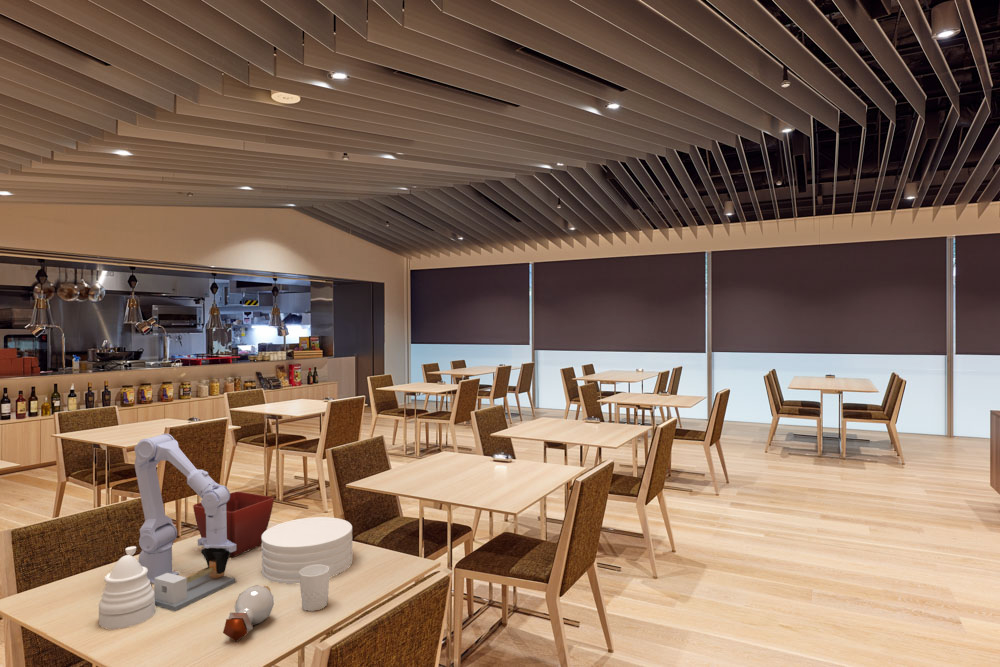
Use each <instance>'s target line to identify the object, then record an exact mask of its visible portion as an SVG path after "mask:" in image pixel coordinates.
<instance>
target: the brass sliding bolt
mask: <svg viewBox="0 0 1000 667" xmlns="http://www.w3.org/2000/svg"><path fill="white" fill-rule="evenodd" d="M225 572H226V571H225ZM225 572H223V573H220V574H218V572H217V564H216V560H215V559H213V560H210V561H209V567H208V566H206V567H205V568H202V569H201V570H198V571H195V572H193V573H191V574H189V575H186V576H185V577H186V578H187V583H188V582H191V581H193V580H195V579H197V578H200V577H202V576H204V575H206V574H209V577H210V578H214V579H217V578H220V577H222V576H226V574H225Z"/></svg>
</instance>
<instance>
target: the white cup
mask: <svg viewBox="0 0 1000 667" xmlns="http://www.w3.org/2000/svg"><path fill="white" fill-rule="evenodd" d="M329 584H330V578H329V567H328V566H326V565H311V566H307V567H305V568H303V569H301V570H300V584H299V588H300V598H301V607H302V609H303V611H306V610H308V611H307V612H315V611H314V610H318V611H320V610H319V609H321V610H323V609H324V607H325V606H326V607H327V605H328V604H329V602H328V601H329V586H330V585H329ZM326 607H325V608H326ZM322 608H323V609H322Z"/></svg>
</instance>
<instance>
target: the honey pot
mask: <svg viewBox="0 0 1000 667" xmlns="http://www.w3.org/2000/svg"><path fill="white" fill-rule="evenodd" d="M136 551H137V546H134V545H133V546H128V547H126V548H125V553H126V555H123V556H121V557H120V558H119V559H118V560H117V561H116V563H115V565H114V566H113V568H112V570H111V571H110V572H109V573H107V574H106V575H105V576H104V579H103V580H104V582H105V587H104V588H103V590H102V595H101V599H100V600H99V601H98V626H99V625H100V626H101V627H104V628H107V629H106V630H119V629H118V628H121V629H126V627H127V628H131V627H133V626H137V625H140V624H142V623H143V622H146V621H147V620H149V619H151V618H152V617H153V616H154V615H155V612H156V605H155V599H154V598H155V597H154V595H155V593H154V588H153V587H152V583H150V580H149V579H148V578H147V576H146V574H147V572H148V569H147V568H146V567H143V566H141V565H140V563H139V562H138V560H137V558H135V557H134V554H135V553H136ZM100 626H99V627H100ZM130 626H131V627H130ZM101 627H100V628H101ZM104 628H103V629H104Z"/></svg>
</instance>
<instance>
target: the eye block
mask: <svg viewBox="0 0 1000 667" xmlns="http://www.w3.org/2000/svg"><path fill="white" fill-rule="evenodd" d="M235 583H236V578H235V577H231V576H227V575H224V576H222V577H220V578H217V579H214V578H210V577H209V574H206V575H204V576H202V577H200V578H197V579H195V580H193V581H191V582H188V583H187V578H186V576H182V575H179V574H178V575H174V574H170V573H165V574H163V575H161V576H158V577H156V578H154V583H153V590H154V593H155V595H154V597H155V598H154V599H155V607H159V608H162V609H167V610H169V611H173V612H177V611H179V610H181V609H184V608H185V607H187V606H190V605H191V604H193V603H196V602H198V601H200V600H202V599H204V598H207V597H208V596H210V595H212V594H214V593H216V592H218V591H221V590H222V589H225V588H227V587H230V585H233V584H235Z"/></svg>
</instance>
